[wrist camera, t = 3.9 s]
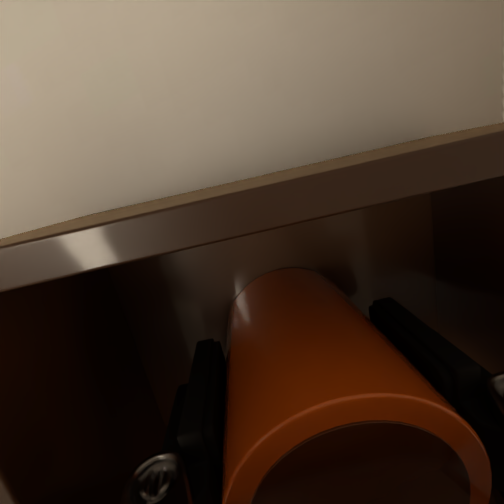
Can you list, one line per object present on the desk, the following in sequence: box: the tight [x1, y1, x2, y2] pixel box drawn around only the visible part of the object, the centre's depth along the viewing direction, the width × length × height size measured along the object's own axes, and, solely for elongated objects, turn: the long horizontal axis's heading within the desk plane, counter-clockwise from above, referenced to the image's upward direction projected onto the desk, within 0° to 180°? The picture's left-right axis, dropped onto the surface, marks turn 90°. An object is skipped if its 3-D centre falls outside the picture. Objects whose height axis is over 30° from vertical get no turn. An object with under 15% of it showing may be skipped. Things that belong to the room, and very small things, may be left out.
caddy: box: [0, 122, 504, 504], centre depth 10 cm, size 12×14×7 cm
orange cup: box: [221, 268, 492, 504], centre depth 9 cm, size 5×5×7 cm
